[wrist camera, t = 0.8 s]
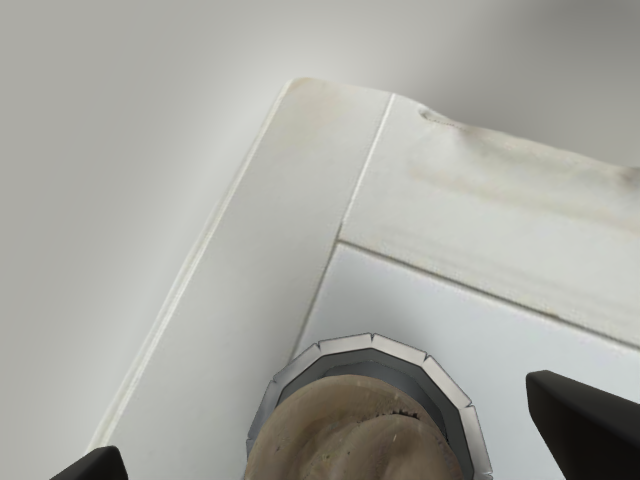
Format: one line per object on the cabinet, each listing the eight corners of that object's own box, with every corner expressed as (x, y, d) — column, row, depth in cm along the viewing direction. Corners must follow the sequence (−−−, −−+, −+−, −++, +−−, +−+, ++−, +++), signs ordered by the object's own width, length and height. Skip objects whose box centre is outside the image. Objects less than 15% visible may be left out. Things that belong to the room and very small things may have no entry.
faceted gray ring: (508, 467, 21) (545, 482, 17) (353, 618, 20) (347, 681, 15) (375, 314, 25) (375, 292, 21) (237, 428, 24) (205, 431, 19)
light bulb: (302, 480, 22) (184, 585, 9) (333, 380, 24) (279, 336, 10) (402, 523, 21) (455, 734, 7) (428, 415, 23) (509, 417, 9)
